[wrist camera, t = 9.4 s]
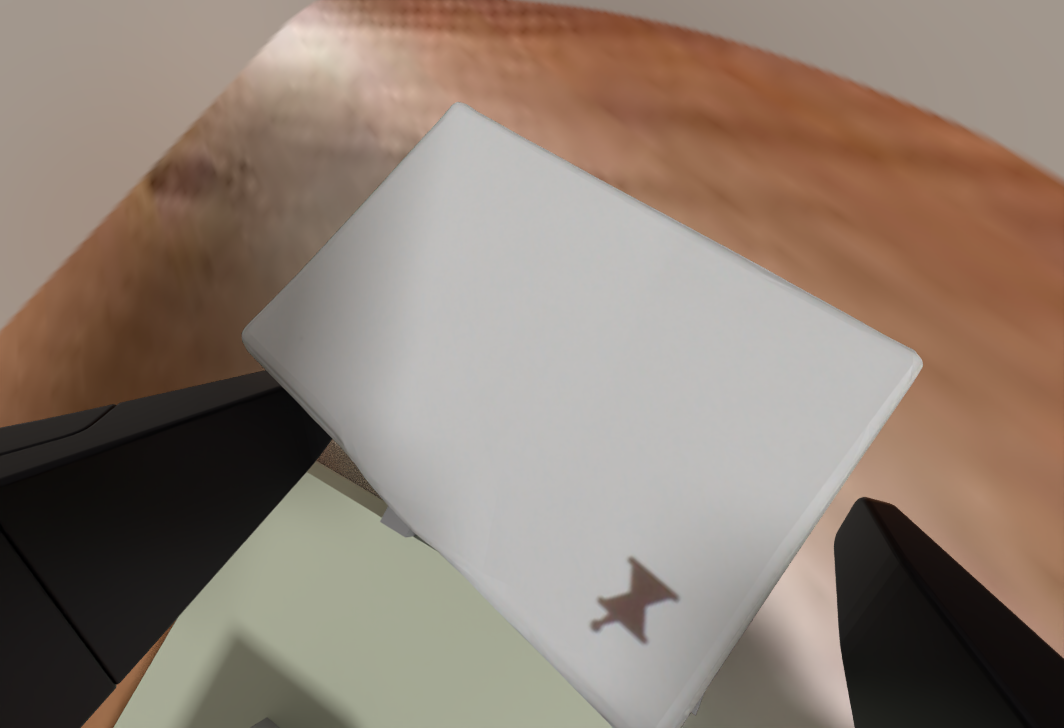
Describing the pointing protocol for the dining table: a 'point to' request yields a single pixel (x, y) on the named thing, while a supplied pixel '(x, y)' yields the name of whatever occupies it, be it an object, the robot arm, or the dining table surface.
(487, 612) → the fixture base
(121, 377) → the dining table surface
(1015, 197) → the dining table surface
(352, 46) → the dining table surface
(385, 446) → the skincare box
